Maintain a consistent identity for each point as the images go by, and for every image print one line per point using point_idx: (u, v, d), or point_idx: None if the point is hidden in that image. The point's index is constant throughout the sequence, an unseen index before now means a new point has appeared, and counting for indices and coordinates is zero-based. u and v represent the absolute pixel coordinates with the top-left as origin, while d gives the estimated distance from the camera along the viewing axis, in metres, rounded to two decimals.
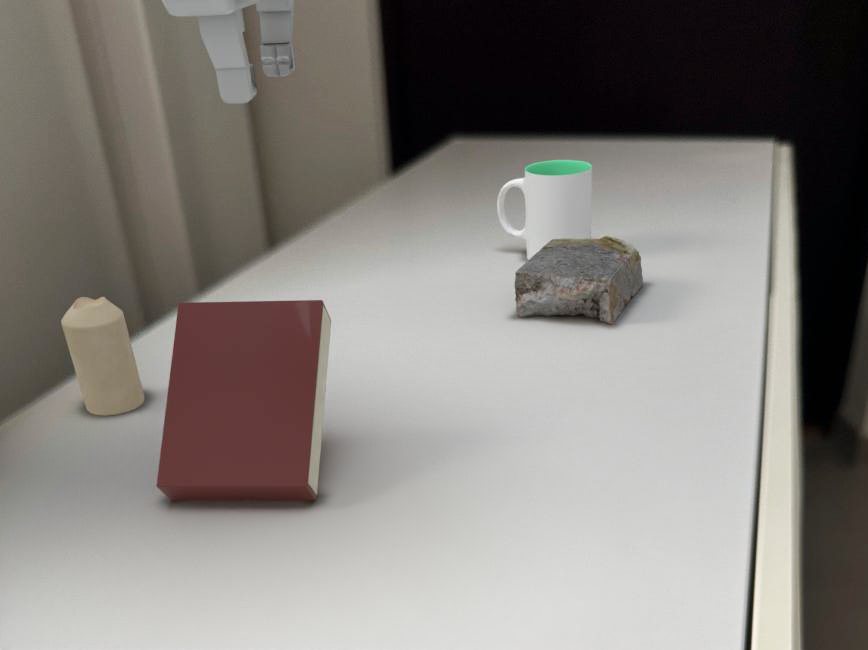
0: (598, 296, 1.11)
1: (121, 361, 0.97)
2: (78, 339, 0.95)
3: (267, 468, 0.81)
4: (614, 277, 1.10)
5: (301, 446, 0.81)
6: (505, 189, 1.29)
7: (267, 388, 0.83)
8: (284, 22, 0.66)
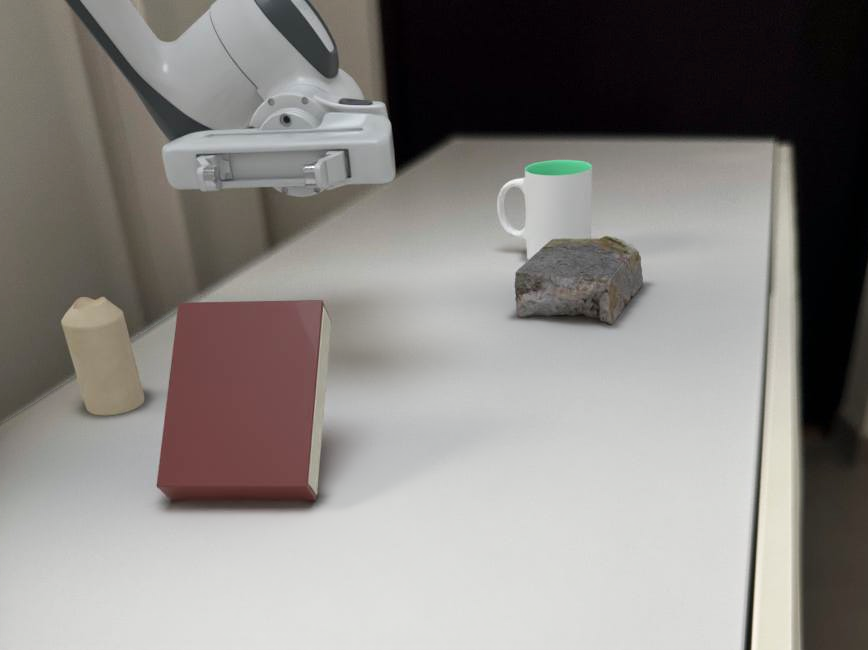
0: (598, 296, 1.11)
1: (121, 361, 0.97)
2: (78, 339, 0.95)
3: (267, 468, 0.81)
4: (614, 277, 1.10)
5: (301, 446, 0.81)
6: (505, 189, 1.29)
7: (267, 388, 0.83)
8: None
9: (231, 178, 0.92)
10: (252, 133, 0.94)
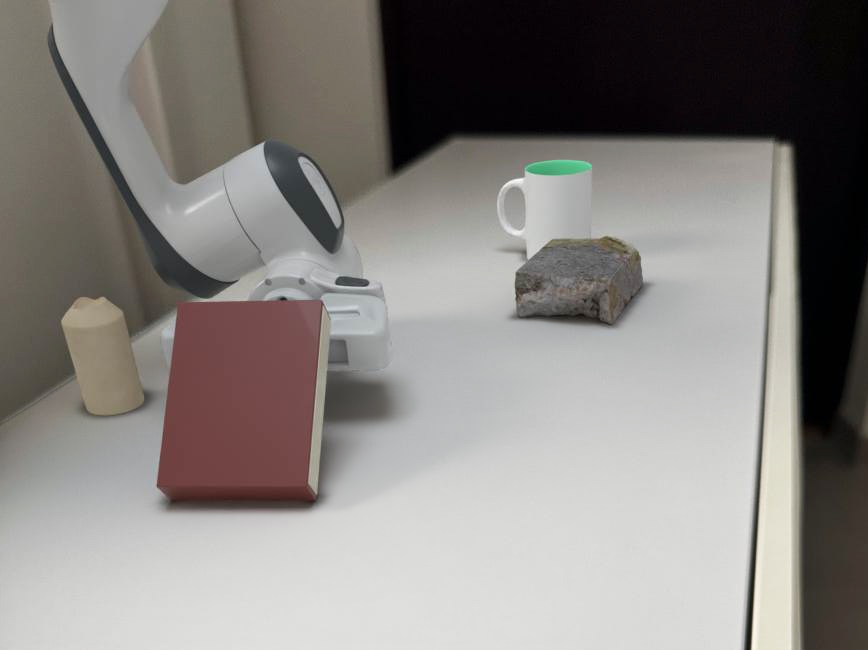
0: (598, 296, 1.11)
1: (121, 361, 0.97)
2: (78, 339, 0.95)
3: (267, 468, 0.81)
4: (614, 277, 1.10)
5: (300, 446, 0.81)
6: (505, 189, 1.29)
7: (267, 388, 0.83)
8: None
9: None
10: None
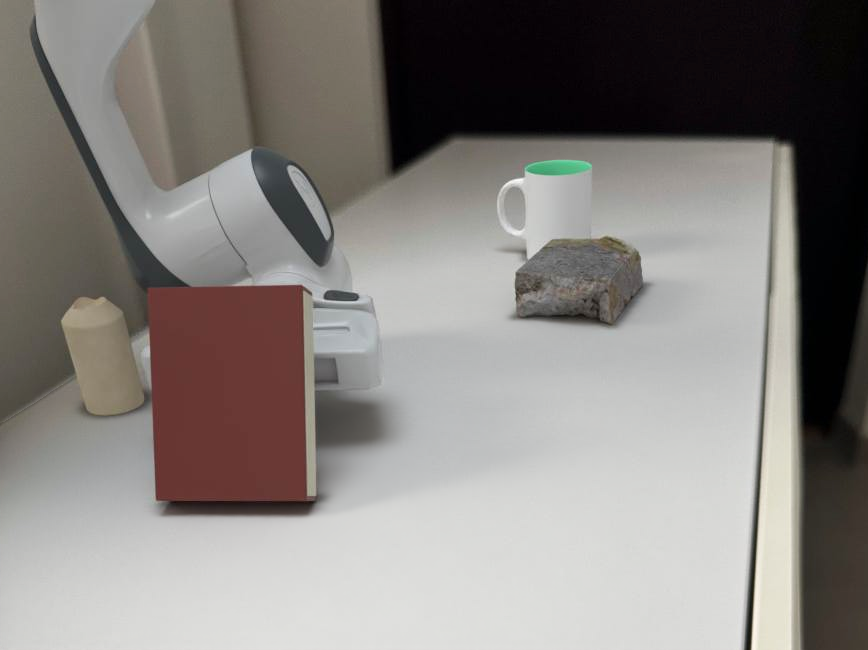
0: (598, 296, 1.11)
1: (121, 361, 0.97)
2: (78, 339, 0.95)
3: (264, 481, 0.81)
4: (614, 277, 1.10)
5: (296, 457, 0.80)
6: (505, 189, 1.29)
7: (254, 390, 0.80)
8: None
9: None
10: None
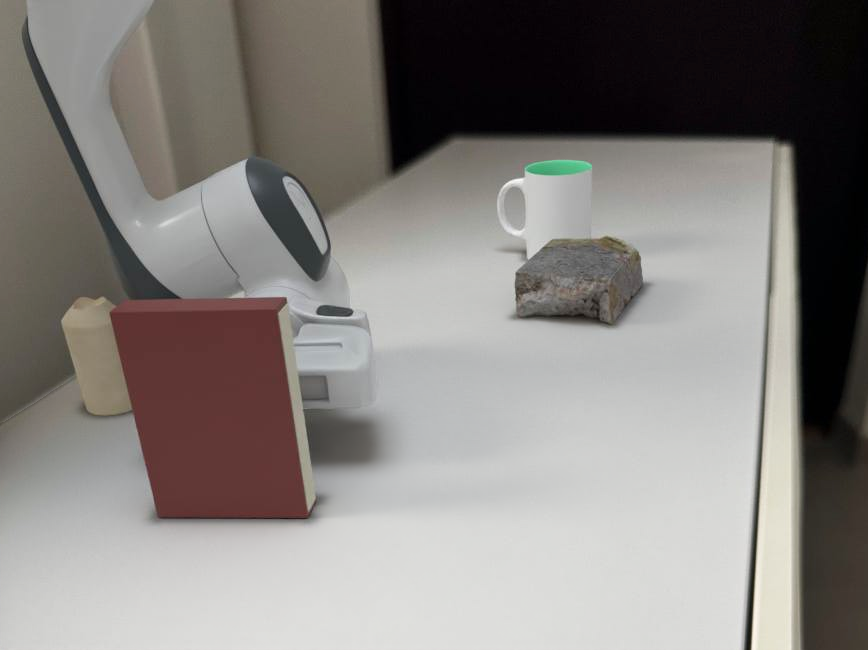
0: (598, 296, 1.11)
1: None
2: (78, 339, 0.95)
3: (263, 500, 0.80)
4: (614, 277, 1.10)
5: (292, 478, 0.79)
6: (505, 189, 1.29)
7: (240, 416, 0.77)
8: None
9: None
10: None
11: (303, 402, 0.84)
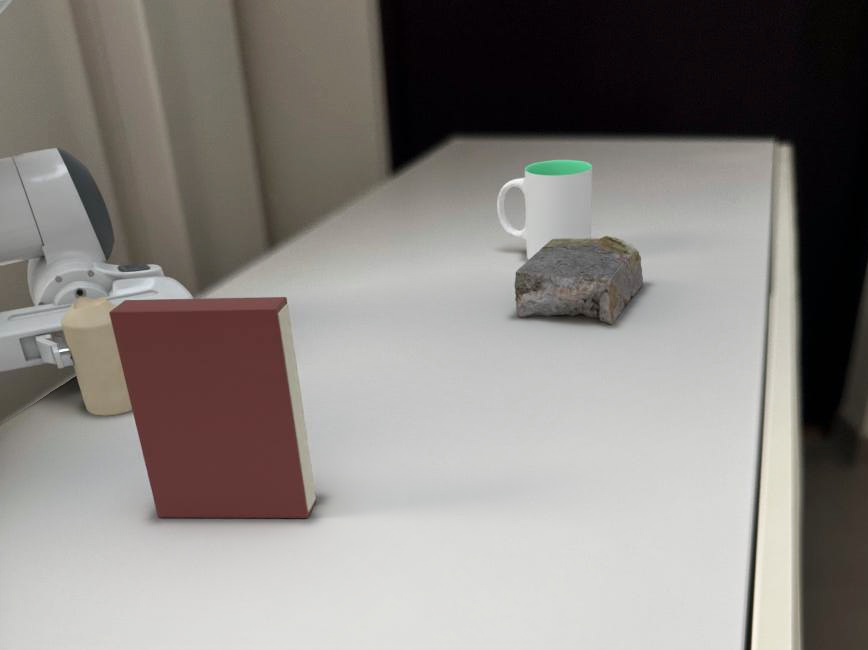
0: (598, 296, 1.11)
1: None
2: (78, 339, 0.95)
3: (263, 500, 0.80)
4: (614, 277, 1.10)
5: (292, 478, 0.79)
6: (505, 189, 1.29)
7: (240, 416, 0.77)
8: None
9: None
10: (50, 309, 1.03)
11: None
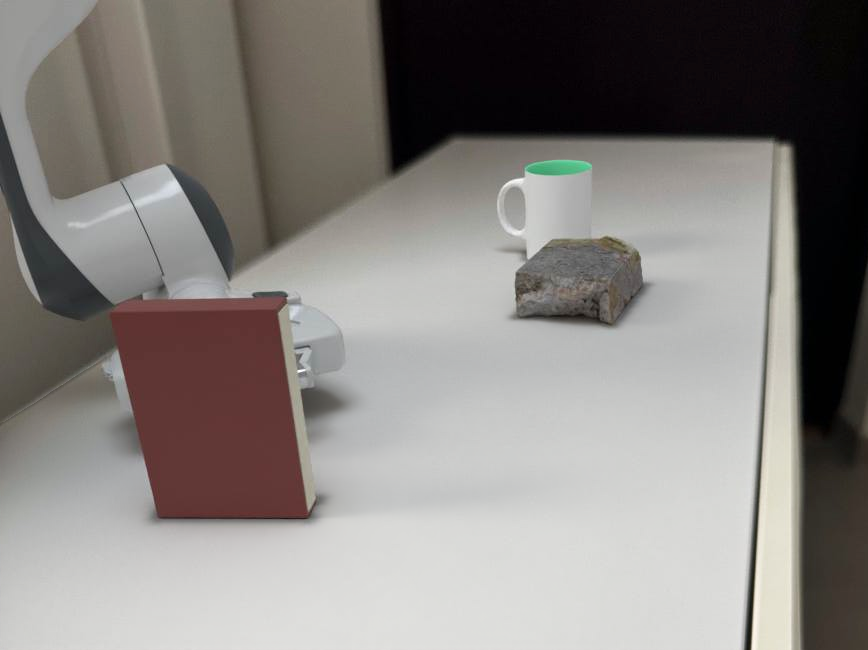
0: (598, 296, 1.11)
1: None
2: None
3: (263, 500, 0.80)
4: (614, 277, 1.10)
5: (292, 478, 0.79)
6: (505, 189, 1.29)
7: (240, 416, 0.77)
8: None
9: None
10: None
11: None
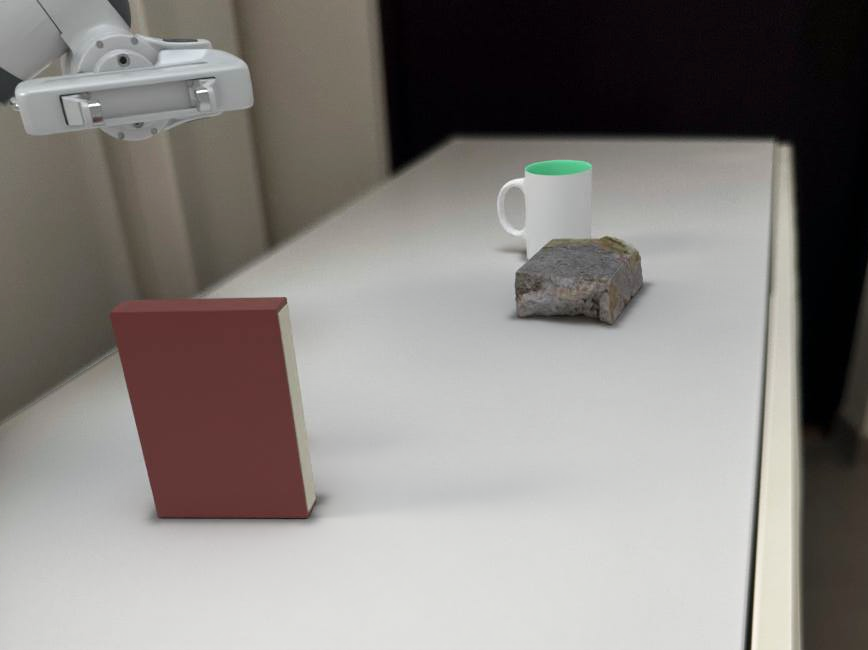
0: (598, 296, 1.11)
1: None
2: None
3: (263, 500, 0.80)
4: (614, 277, 1.10)
5: (292, 478, 0.79)
6: (505, 189, 1.29)
7: (240, 416, 0.77)
8: None
9: None
10: (91, 76, 0.94)
11: (195, 108, 0.94)
